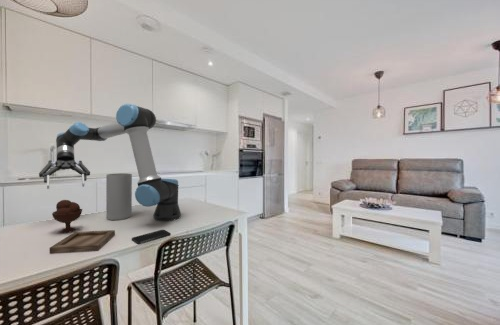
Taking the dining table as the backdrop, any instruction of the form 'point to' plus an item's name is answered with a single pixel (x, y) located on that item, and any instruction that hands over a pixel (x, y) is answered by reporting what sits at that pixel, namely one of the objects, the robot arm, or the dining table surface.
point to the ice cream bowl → (67, 214)
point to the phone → (150, 236)
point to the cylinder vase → (118, 196)
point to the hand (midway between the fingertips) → (66, 186)
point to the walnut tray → (83, 241)
